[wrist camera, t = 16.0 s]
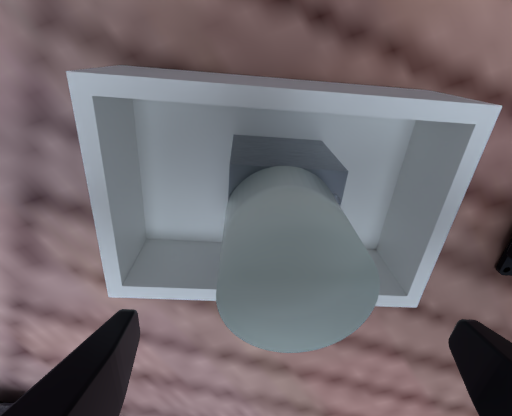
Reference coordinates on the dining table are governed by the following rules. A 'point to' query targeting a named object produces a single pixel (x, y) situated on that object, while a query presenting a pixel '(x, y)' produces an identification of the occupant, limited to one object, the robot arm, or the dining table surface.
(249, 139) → the metal block
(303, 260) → the jar
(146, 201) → the tote
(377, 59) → the dining table surface
